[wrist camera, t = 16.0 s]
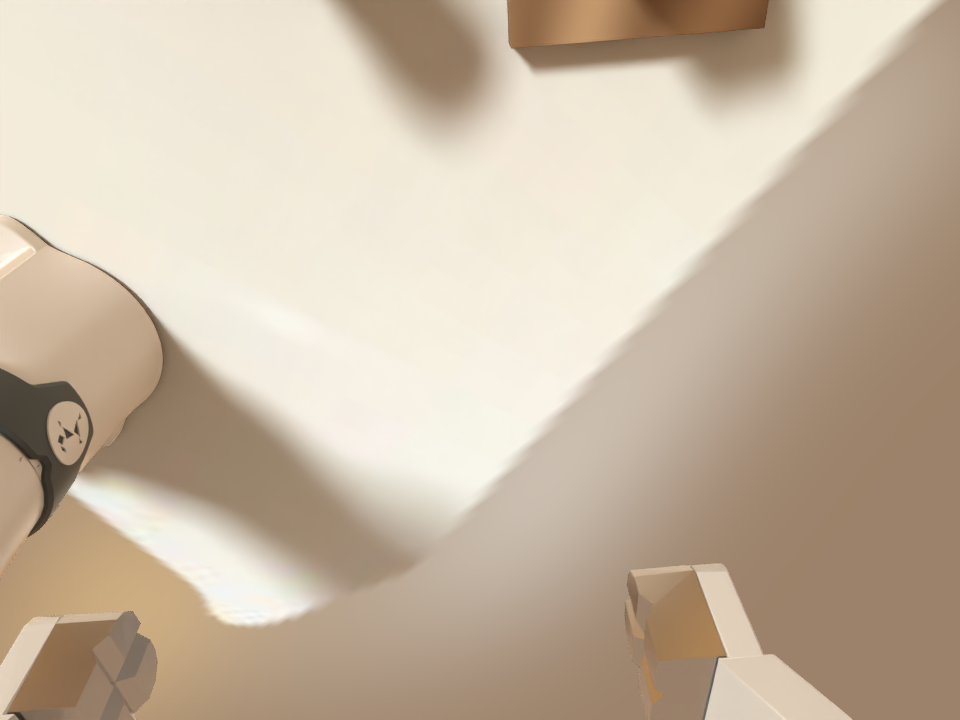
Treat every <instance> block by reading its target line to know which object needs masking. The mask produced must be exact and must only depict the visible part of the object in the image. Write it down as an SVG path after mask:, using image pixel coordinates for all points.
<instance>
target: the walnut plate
mask: <svg viewBox="0 0 960 720" xmlns="http://www.w3.org/2000/svg"><path fill="white" fill-rule="evenodd" d="M768 1H769V0H507V7H508V33H509V44H510V46H511V48H520V47H533V46H545V45H558V44H570V43H583V42H595V41H608V40H620V39H633V38H645V37H658V36H670V35H683V34H695V33H708V32H720V31H733V30H745V29H758V28H764V27H765V20H766V14H767V7H768Z"/></svg>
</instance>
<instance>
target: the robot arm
mask: <svg viewBox="0 0 960 720" xmlns="http://www.w3.org/2000/svg"><path fill="white" fill-rule="evenodd" d="M162 366H163V353H162V347H161V342H160V339H159V336H158V333H157V331H156V328H155V326H154V324H153V322H152V321H151V319H150V317H149V316H148V314H147V313H146V311H145V310H144V308H143V307H142V306H141V305H140V303H139V302H138V301H137V300H136V299H135V298H134V297H133V296H132V295H131V294H130V293H129V292H128V291H127V290H126V289H125V288H124V287H123V286H122V285H121V284H119V283H118V282H117V281H115V280H114V279H113V278H111V277H110V276H108V275H107V274H106V273H104V272H102V271H101V270H99V269H97V268H96V267H94V266H92V265H90V264H88V263H86V262H84V261H82V260H79V259H77V258H75V257H72V256H70V255H68V254H65V253H63V252H61V251H58V250H56V249H54V248H53V247H51V246H49V245H47V244H46V243H45V242H44V241H43V240H41V239H40V238H39V237H38V236H36V235H35V234H34V233H33V232H32V231H30V230H29V229H28V228H26V227H25V226H24V225H22V224H21V223H19V222H18V221H16V220H15V219H13V218H11V217H9V216H6V215H1V214H0V579H1V578H2V576H3V574H4V573H5V571H6V569H7V568H8V566H9V565H10V563H11V561H12V560H13V558H14V557H15V555H16V553H17V552H18V550H19V548H20V547H21V545H22V544H23V542H24V541H25V539H26V538H27V537H29V536H31V535H32V534H34V533H35V532H37V531H38V530H39V529H40V528H41V527H42V526H43V525H44V524H45V523H46V521H47V520H48V519H49V518H50V517H51V516H52V514H53V513H54V512H55V511H56V509H57V508H58V507H59V503H60V502H61V500H62V499H63V497H64V496H65V494H66V493H67V491H68V490H69V488H70V487H71V485H72V484H73V482H74V481H75V479H76V477H77V475H78V474H79V472H80V471H81V470H82V469H83V468H84V467H85V466H86V464H87V463H88V462H89V461H90V460H91V459H92V457H93V456H94V455H95V454H96V453H97V451H98V450H99V449H100V448H101V447H107V446H109V445H111V444H112V443H113V442H114V440H115V439H116V438H117V437H118V436H119V434H120V433H121V431H122V428H123V426H124V423H125V420H126V417H127V416H128V415H129V414H130V413H131V412H132V411H134V410H135V409H136V408H137V407H138V406H139V405H140V404H142V403H143V402H144V401H145V400H146V399H147V398H148V397H149V396H150V395H151V393H152V392H153V391H154V389H155V388H156V386H157V384H158V382H159V379H160V376H161V372H162ZM627 578H628V579H627V588H628V592H629V596H630V598H629V599H628V600H627V601H626V603H625V625H626V635H627V641H628V646H629V650H630V654H631V658H632V661H633V662H634V663H635V664H636V665H637V666H638V667H639V668H640V678H639V691H640V694H641V699H642V702H643V706H644V710H645V714H646V718H647V720H853V719H851V718H850V717H849V716H848V715H847V714H845V713H844V712H843V711H842V710H841V709H839V708H838V707H837V706H836V705H834V704H833V703H832V702H831V701H830V700H828V699H827V698H826V697H825V696H824V695H822V694H821V693H820V692H819V691H818V690H816V689H815V688H814V687H813V686H812V685H810V684H809V683H808V682H807V681H806V680H804V679H803V678H802V677H801V676H799V675H798V674H797V673H796V672H795V671H793V670H792V669H791V668H790V667H788V666H787V665H786V664H785V663H784V662H783V661H781V660H780V659H779V658H778V657H777V656H775V655H774V654H764V653H763V651H762V649H761V646H760V644H759V642H758V639H757V638H756V635H755V632H754V630H753V628H752V626H751V623H750V621H749V619H748V617H747V614H746V612H745V609H744V607H743V605H742V602H741V600H740V598H739V596H738V594H737V591H736V589H735V586H734V584H733V582H732V580H731V577H730V575H729V573H728V570H727V568H726V567H725V566H723V564H721V563H715V564H704V565H694V566H689V565H683V566H673V567H662V568H651V569H642V570H631V571H629V574H628V577H627ZM140 624H141V623H140V621H139V620H138V619H137V617H136V616H135V614H134V612H133V611H126V612H108V613H91V614H75V615H74V614H73V615H56V616H43V617H34V618H33V619H32V620H31V621H30V622H28V623H27V624H26V625H25V626H24V627H23V629H22V631H21V632H20V634H19V635H18V637H17V639H16V641H15V642H14V644H13V646H12V647H11V649H10V651H9V652H8V654H7V656H6V657H5V659H4V661H3V662H2V664H1V666H0V720H136V717H135V714H134V713H135V712H136V711H137V710H138V709H139V708H140V707H141V706H142V705H143V704H144V703H145V702H146V701H147V700H148V699H149V697H150V695H151V692H152V689H153V686H154V683H155V680H156V670H157V657H156V651H155V648H154V646H153V644H152V643H151V641H150V639H148V638H146V637H144V636H142V635H140V634H139V633H137V630H138V628H139V626H140Z"/></svg>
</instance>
